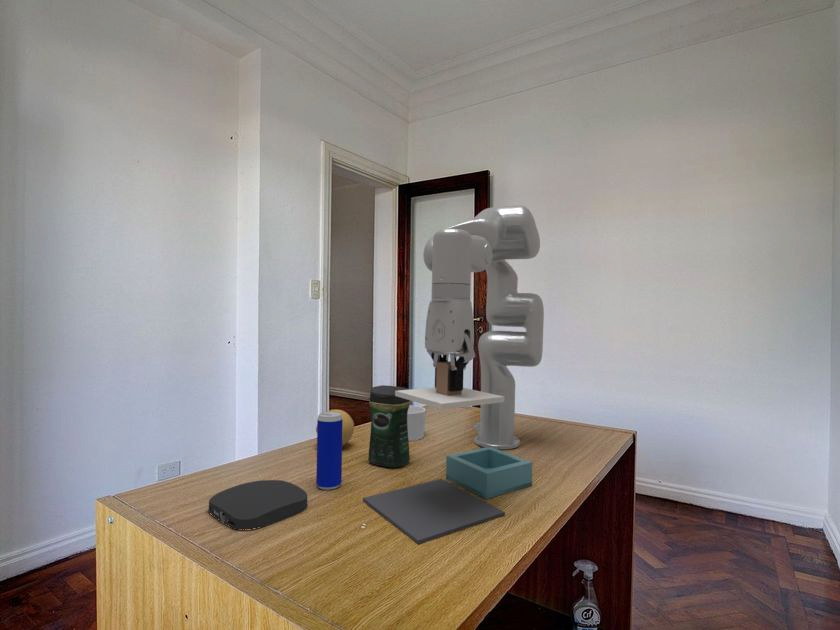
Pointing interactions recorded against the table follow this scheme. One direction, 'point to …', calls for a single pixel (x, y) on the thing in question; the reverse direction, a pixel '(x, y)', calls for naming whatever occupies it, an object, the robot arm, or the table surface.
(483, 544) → the table surface
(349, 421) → the stress ball
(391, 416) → the coffee jar
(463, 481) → the square tray
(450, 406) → the lid
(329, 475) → the beverage can
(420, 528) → the mat
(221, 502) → the media streaming box
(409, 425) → the mug
